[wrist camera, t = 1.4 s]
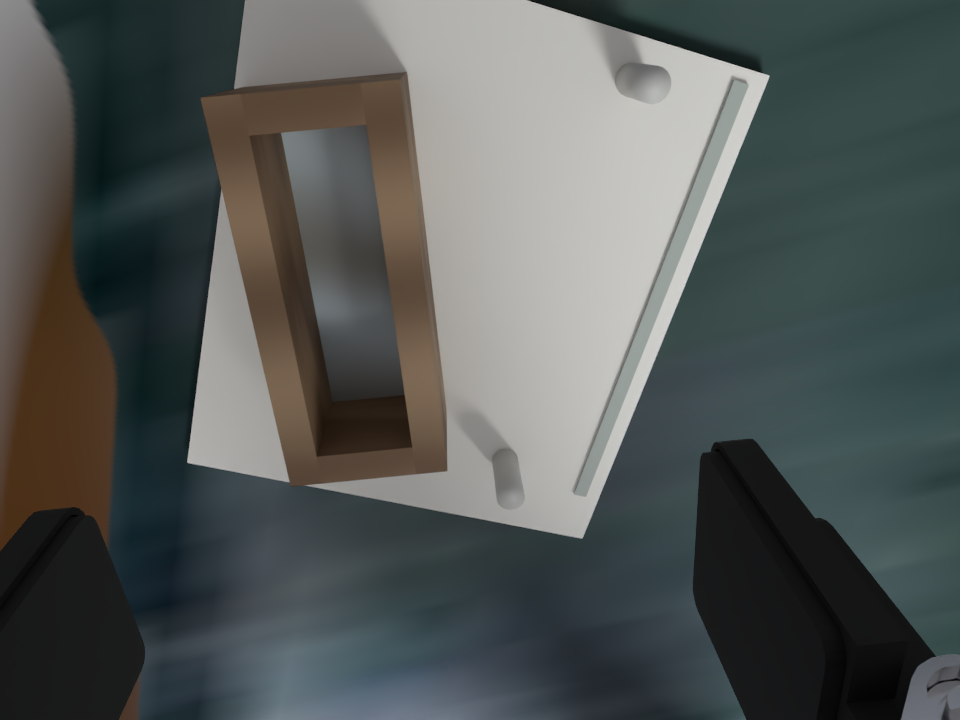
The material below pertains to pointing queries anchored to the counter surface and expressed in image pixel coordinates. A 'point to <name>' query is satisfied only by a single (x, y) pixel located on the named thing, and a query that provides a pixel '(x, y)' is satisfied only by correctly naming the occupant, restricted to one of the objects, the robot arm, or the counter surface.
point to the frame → (336, 271)
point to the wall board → (505, 236)
